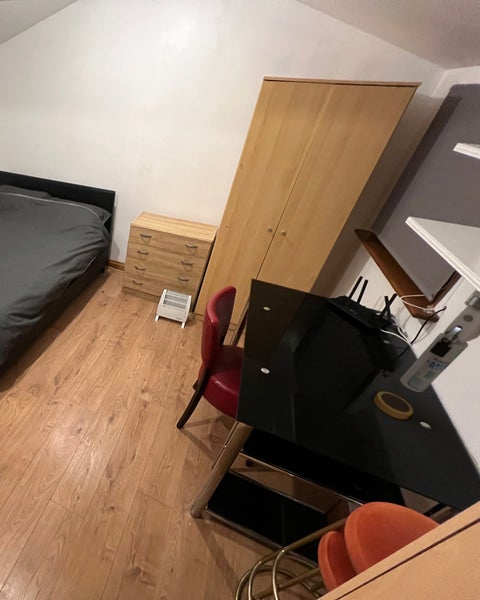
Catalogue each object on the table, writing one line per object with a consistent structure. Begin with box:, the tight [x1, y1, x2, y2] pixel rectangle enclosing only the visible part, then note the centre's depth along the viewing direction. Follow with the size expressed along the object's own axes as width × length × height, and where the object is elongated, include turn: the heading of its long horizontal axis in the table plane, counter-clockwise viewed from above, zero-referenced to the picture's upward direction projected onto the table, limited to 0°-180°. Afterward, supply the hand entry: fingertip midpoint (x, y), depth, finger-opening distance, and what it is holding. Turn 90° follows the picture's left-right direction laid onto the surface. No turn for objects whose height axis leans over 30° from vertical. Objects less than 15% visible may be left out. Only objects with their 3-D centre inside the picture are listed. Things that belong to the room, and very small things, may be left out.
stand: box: [373, 391, 414, 420], centre depth 114 cm, size 10×10×3 cm
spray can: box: [399, 332, 469, 393], centre depth 103 cm, size 6×6×20 cm
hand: (442, 351), depth 100 cm, fingers closed on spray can, 6 cm apart
